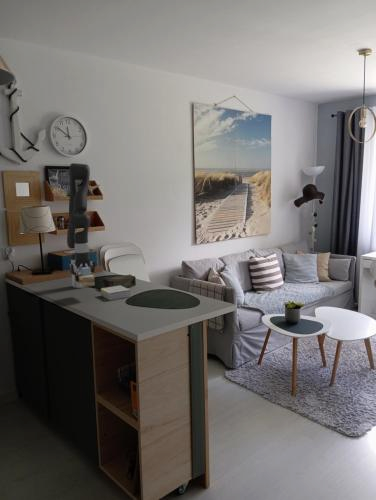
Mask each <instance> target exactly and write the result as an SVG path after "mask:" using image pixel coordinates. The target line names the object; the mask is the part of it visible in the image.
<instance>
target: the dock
mask: <svg viewBox="0 0 376 500" xmlns="http://www.w3.org/2000/svg"><path fill="white" fill-rule="evenodd" d="M100 296H101V297H103V298H105V299H106V300H109V301H114V300H119V299H126V298H131V289H130V288H128V287H123V286H121V285H120V286H114V287H107V288H103V287H102V288H101V287H100Z"/></svg>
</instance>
